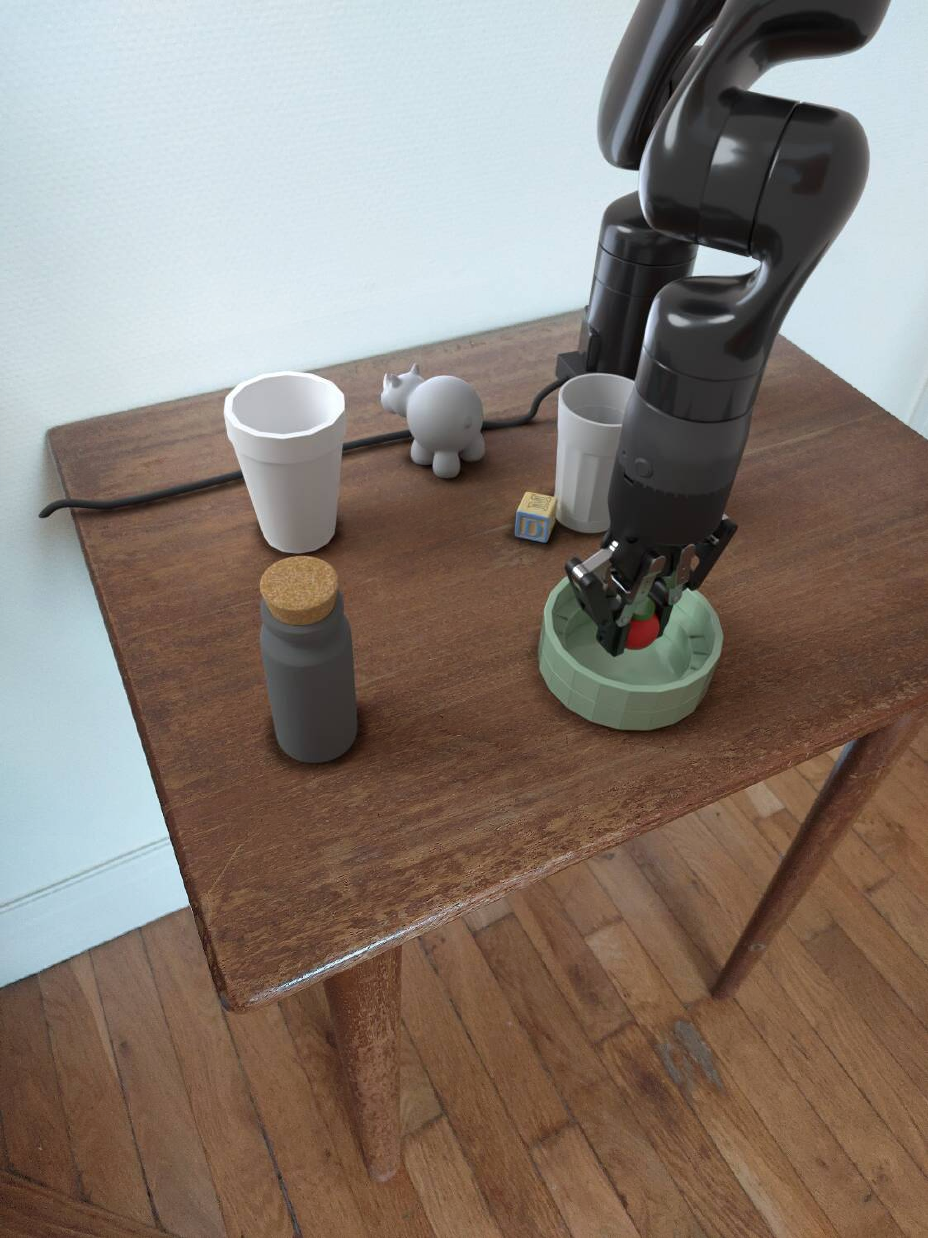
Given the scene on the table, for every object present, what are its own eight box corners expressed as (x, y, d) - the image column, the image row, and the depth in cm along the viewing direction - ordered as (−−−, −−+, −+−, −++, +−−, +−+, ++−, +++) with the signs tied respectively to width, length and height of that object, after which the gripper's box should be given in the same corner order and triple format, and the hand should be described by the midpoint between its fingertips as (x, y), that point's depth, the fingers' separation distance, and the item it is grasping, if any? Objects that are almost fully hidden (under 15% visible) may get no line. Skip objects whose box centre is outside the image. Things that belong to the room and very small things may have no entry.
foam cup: (277, 486, 85) (261, 361, 75) (369, 510, 83) (363, 385, 73) (226, 549, 78) (201, 421, 69) (323, 577, 76) (311, 450, 67)
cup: (640, 499, 86) (666, 388, 77) (613, 549, 81) (638, 436, 72) (561, 474, 88) (577, 364, 79) (530, 522, 83) (544, 409, 74)
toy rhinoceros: (413, 408, 95) (413, 333, 88) (496, 460, 89) (502, 383, 83) (360, 434, 91) (356, 358, 85) (443, 490, 85) (445, 413, 79)
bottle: (278, 700, 67) (253, 549, 56) (357, 697, 68) (348, 547, 57) (273, 766, 63) (246, 617, 52) (358, 762, 64) (347, 615, 53)
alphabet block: (513, 536, 81) (516, 510, 79) (522, 515, 83) (525, 489, 81) (546, 544, 81) (550, 518, 78) (554, 523, 83) (558, 497, 81)
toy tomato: (609, 659, 68) (618, 621, 65) (604, 624, 70) (613, 586, 67) (657, 660, 68) (668, 623, 65) (650, 626, 70) (661, 588, 67)
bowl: (543, 732, 66) (550, 689, 63) (533, 603, 75) (539, 559, 72) (721, 737, 67) (739, 694, 63) (690, 608, 76) (704, 564, 72)
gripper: (723, 395, 61) (670, 580, 74) (550, 450, 56) (525, 639, 68) (803, 454, 57) (732, 640, 69) (624, 520, 52) (582, 709, 64)
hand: (629, 639), depth 69 cm, fingers closed on toy tomato, 3 cm apart
